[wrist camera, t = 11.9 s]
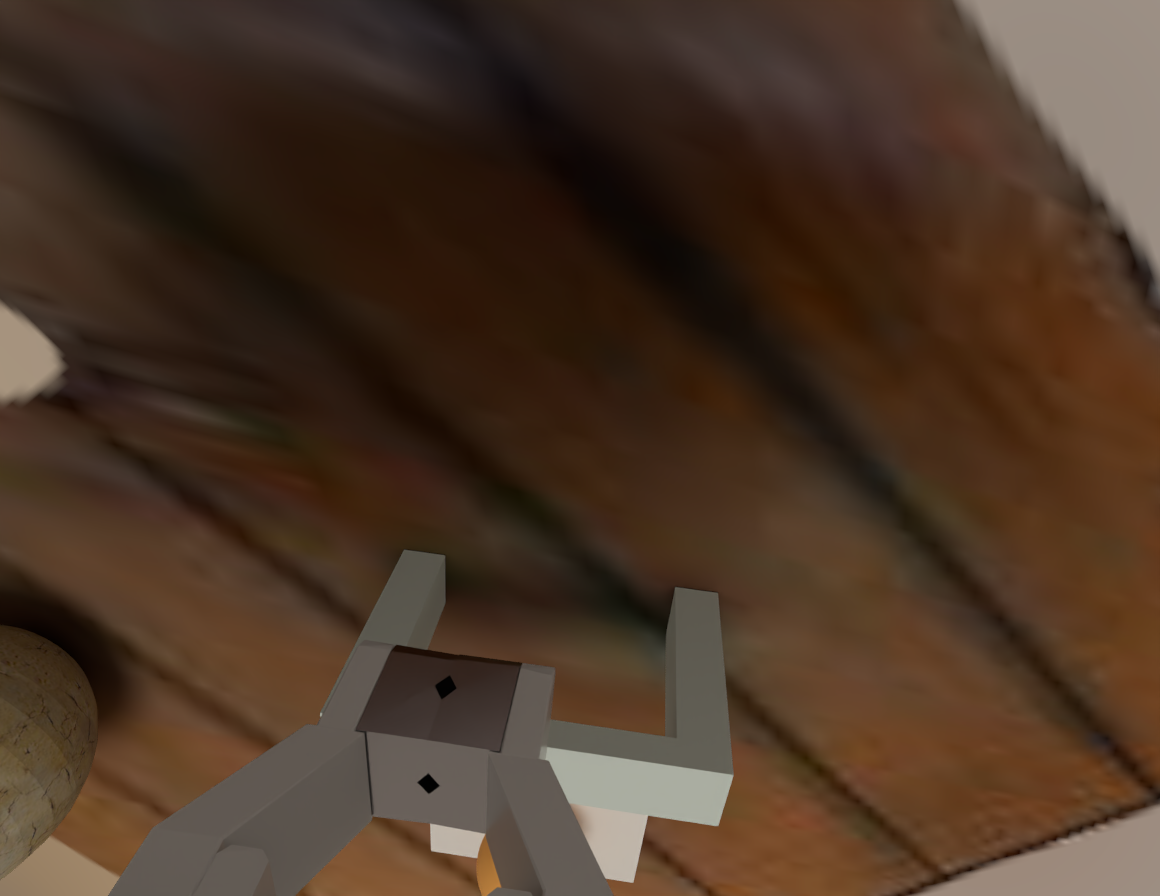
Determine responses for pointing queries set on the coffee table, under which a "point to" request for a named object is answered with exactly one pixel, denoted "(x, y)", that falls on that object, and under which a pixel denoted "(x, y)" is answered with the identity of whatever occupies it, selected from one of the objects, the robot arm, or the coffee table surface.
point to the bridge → (596, 754)
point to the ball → (486, 870)
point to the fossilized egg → (40, 740)
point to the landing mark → (604, 829)
